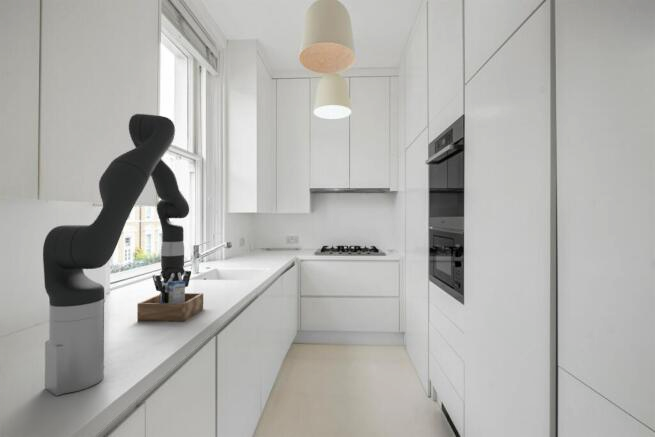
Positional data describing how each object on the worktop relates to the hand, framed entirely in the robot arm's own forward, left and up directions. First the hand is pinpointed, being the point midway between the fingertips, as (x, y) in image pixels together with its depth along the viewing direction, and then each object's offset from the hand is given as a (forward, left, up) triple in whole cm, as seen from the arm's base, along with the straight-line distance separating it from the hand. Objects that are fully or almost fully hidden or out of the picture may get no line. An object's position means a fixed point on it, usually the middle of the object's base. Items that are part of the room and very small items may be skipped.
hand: (172, 300), depth 118 cm
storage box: (0, 0, -5) cm, 5 cm away
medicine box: (0, 0, -2) cm, 2 cm away
